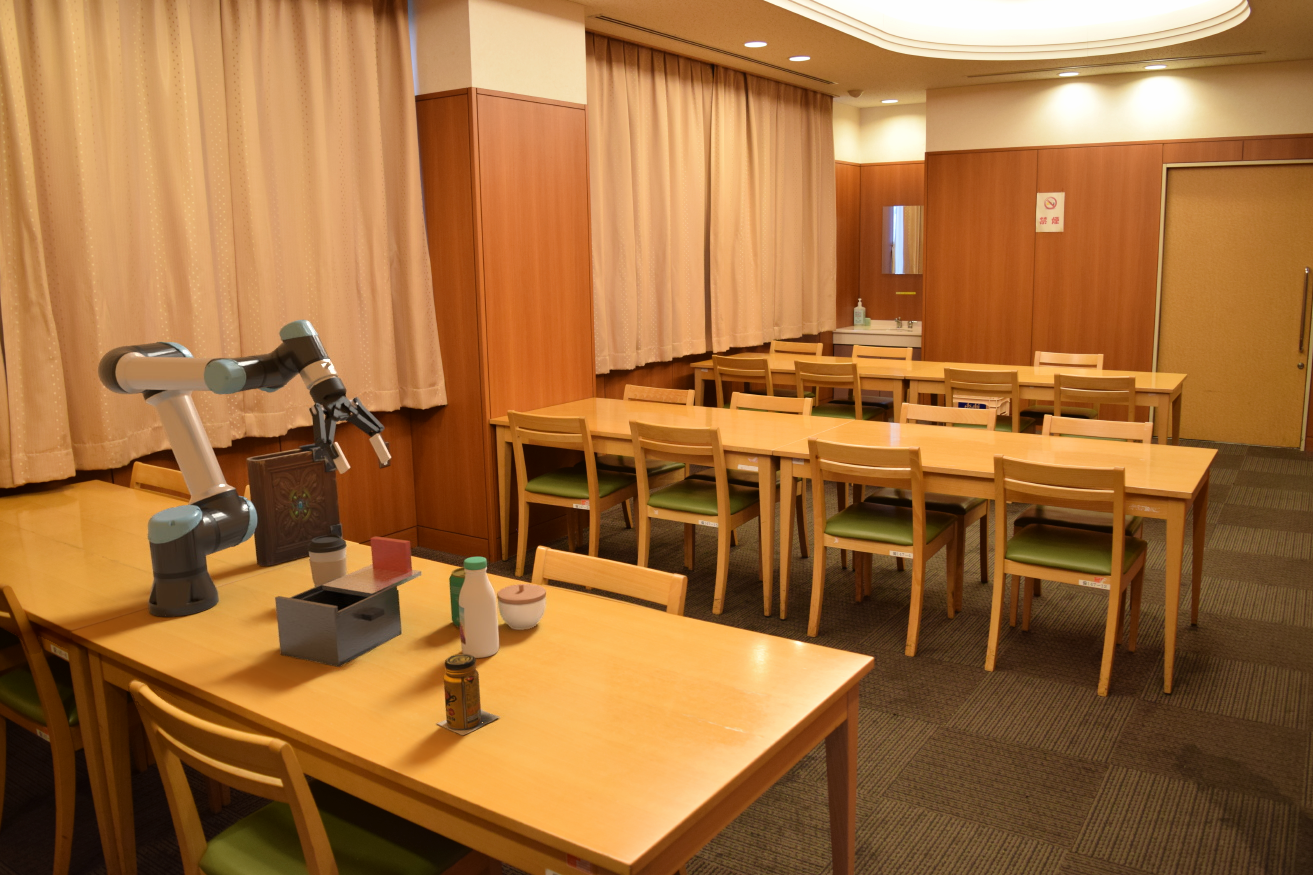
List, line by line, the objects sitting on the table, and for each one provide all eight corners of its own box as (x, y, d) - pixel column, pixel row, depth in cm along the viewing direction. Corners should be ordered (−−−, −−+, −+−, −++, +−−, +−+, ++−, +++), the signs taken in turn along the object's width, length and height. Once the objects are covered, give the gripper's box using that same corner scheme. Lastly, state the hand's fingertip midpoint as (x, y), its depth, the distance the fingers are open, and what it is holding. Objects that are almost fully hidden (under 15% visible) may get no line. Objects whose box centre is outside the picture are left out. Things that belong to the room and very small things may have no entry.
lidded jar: (538, 635, 210) (536, 594, 208) (491, 632, 212) (489, 591, 210) (553, 617, 220) (551, 577, 218) (508, 614, 222) (506, 575, 220)
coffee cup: (338, 603, 232) (333, 543, 229) (304, 601, 234) (298, 541, 231) (357, 591, 240) (352, 532, 238) (324, 589, 242) (319, 531, 240)
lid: (373, 567, 225) (370, 534, 223) (421, 575, 219) (419, 541, 217) (322, 589, 211) (319, 554, 209) (372, 597, 205) (369, 561, 203)
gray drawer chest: (337, 621, 220) (333, 568, 218) (410, 635, 211) (406, 580, 209) (272, 652, 203) (266, 595, 201) (348, 668, 194) (343, 609, 192)
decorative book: (330, 543, 282) (321, 442, 276) (343, 548, 277) (335, 445, 272) (252, 563, 264) (241, 456, 259) (266, 568, 260) (255, 459, 254)
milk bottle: (505, 646, 204) (501, 555, 200) (487, 660, 197) (482, 566, 193) (473, 642, 206) (468, 552, 203) (454, 656, 199) (448, 563, 196)
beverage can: (495, 618, 220) (492, 568, 218) (474, 631, 213) (471, 578, 211) (466, 613, 223) (463, 564, 221) (444, 626, 216) (441, 574, 214)
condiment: (436, 724, 170) (432, 660, 168) (474, 706, 177) (470, 644, 175) (462, 736, 166) (458, 670, 164) (500, 718, 172) (497, 654, 170)
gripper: (293, 380, 207) (338, 467, 206) (371, 371, 230) (413, 449, 228) (271, 397, 211) (315, 483, 209) (351, 386, 233) (392, 463, 231)
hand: (366, 465), depth 218 cm, fingers open, 13 cm apart
